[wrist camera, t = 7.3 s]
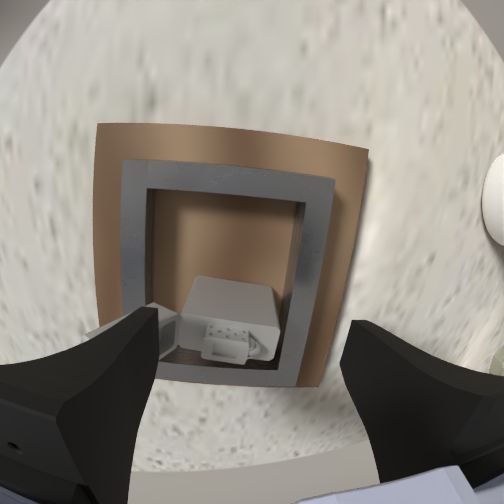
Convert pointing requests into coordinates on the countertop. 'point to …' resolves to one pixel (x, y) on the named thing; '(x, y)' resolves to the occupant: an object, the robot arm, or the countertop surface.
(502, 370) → the valve
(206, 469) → the countertop surface
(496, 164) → the water bottle
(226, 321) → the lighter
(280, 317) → the steel collar
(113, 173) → the walnut board
